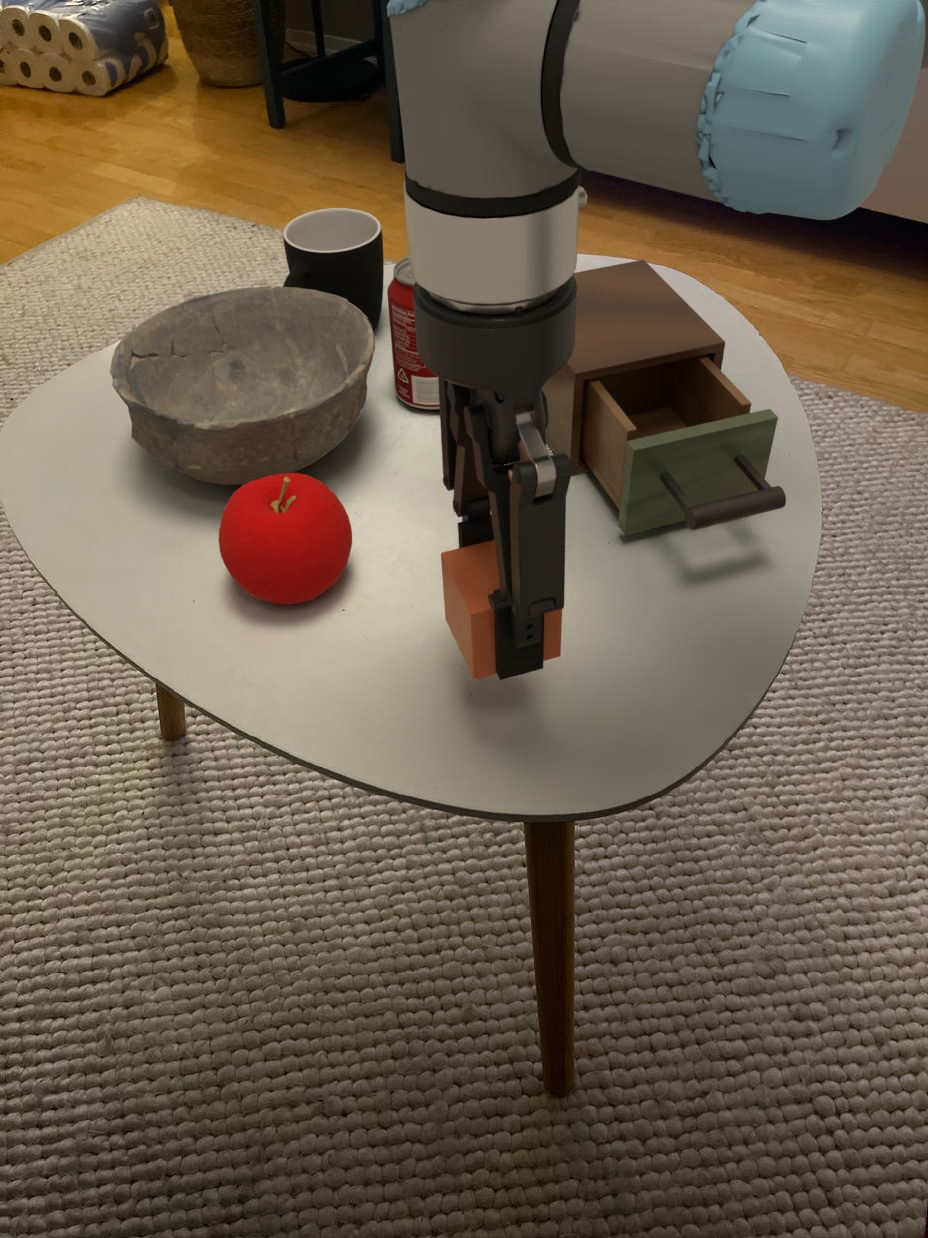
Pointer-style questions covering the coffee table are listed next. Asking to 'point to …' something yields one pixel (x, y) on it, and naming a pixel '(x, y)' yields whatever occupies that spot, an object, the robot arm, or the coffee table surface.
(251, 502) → the fruit
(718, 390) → the drawer
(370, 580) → the coffee table surface
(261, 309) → the bowl
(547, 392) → the cabinet
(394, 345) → the soda can
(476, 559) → the block
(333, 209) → the mug
